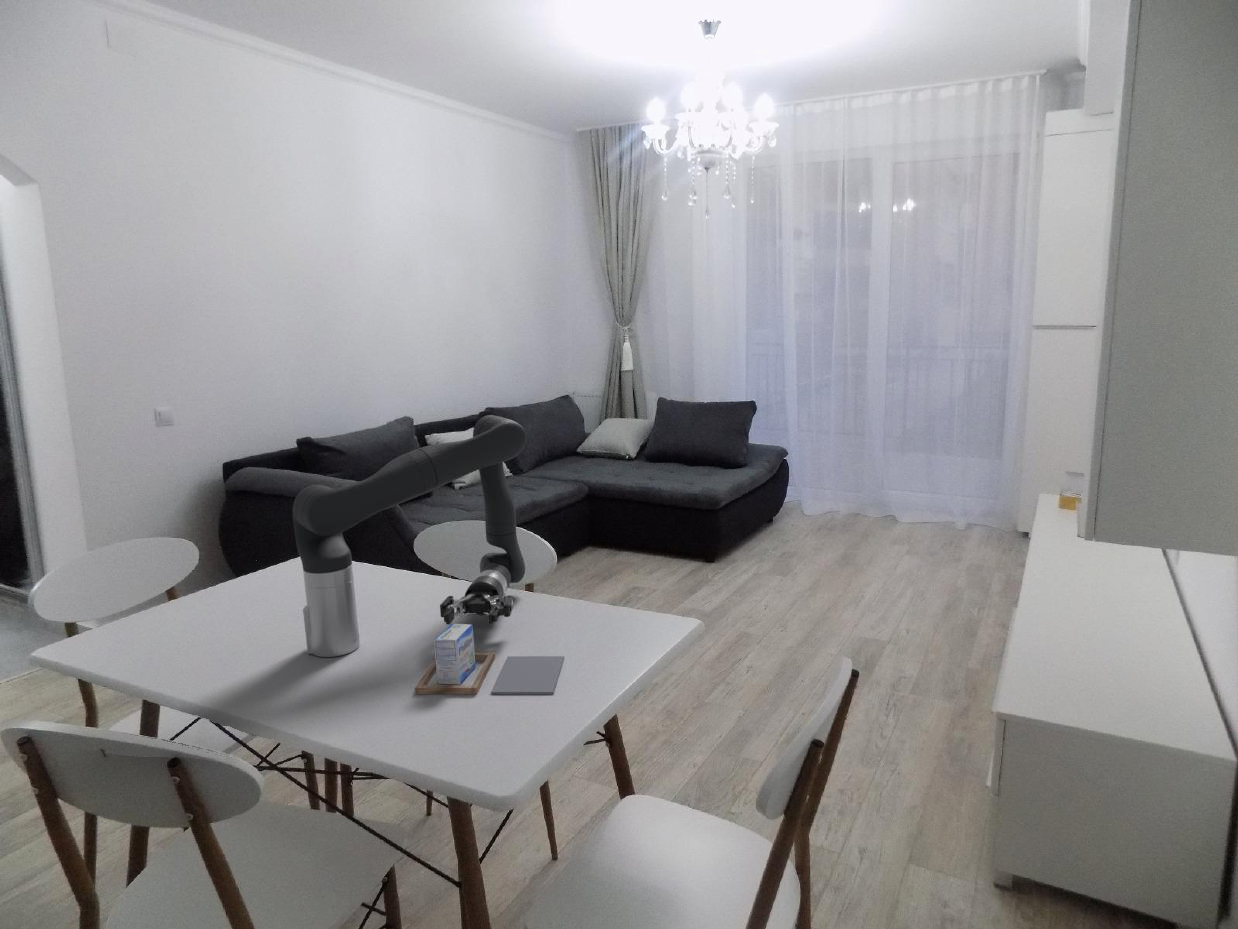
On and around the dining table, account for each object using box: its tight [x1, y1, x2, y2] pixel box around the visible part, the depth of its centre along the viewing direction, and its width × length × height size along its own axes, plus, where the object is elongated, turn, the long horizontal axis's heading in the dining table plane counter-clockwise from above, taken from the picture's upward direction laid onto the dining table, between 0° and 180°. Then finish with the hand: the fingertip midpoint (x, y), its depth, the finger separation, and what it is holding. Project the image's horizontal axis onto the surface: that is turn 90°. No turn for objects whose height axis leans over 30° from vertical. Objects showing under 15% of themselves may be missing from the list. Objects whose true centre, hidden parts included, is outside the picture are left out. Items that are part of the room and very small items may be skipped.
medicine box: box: [433, 623, 476, 685], centre depth 152 cm, size 8×4×9 cm, turn 169°
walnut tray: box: [414, 652, 496, 695], centre depth 152 cm, size 11×15×1 cm
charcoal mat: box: [490, 655, 565, 695], centre depth 152 cm, size 11×15×1 cm
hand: (468, 619), depth 162 cm, fingers open, 8 cm apart
